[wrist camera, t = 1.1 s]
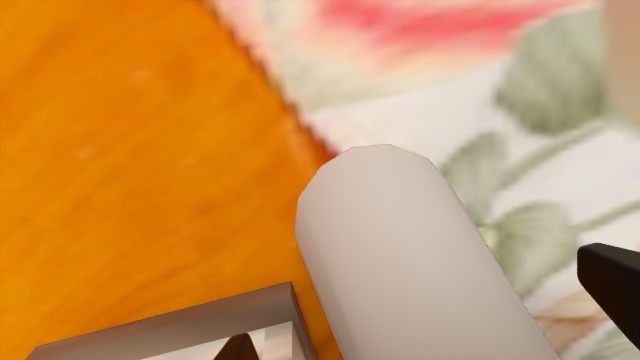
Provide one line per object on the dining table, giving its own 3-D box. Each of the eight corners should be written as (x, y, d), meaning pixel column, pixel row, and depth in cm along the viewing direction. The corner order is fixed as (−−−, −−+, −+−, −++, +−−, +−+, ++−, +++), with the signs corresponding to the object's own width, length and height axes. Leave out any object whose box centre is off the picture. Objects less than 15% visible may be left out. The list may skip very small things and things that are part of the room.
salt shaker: (300, 265, 16) (328, 1031, 3) (286, 138, 14) (234, 832, 1) (429, 251, 16) (900, 912, 4) (433, 125, 14) (1475, 614, 2)
